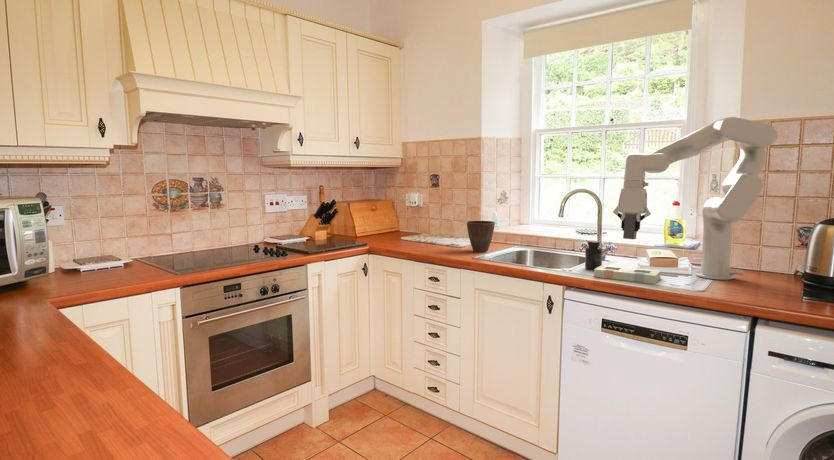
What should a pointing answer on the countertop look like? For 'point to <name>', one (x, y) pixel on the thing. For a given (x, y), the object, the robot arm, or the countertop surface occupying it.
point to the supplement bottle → (593, 255)
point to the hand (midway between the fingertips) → (630, 230)
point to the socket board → (627, 273)
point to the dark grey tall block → (629, 226)
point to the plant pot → (480, 234)
